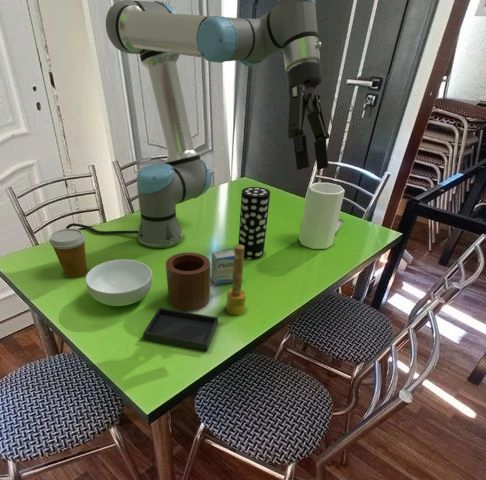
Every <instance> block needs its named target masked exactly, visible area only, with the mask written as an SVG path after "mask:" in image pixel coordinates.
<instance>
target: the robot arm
mask: <svg viewBox="0 0 486 480" xmlns="http://www.w3.org/2000/svg"><path fill="white" fill-rule="evenodd" d="M276 4H277V5H276V6H275V7H273V8H272V9H271V10H270V11H268V12H267V13H265V14H263V15H262V16H261V17H259V18H247V17H246V18H245V17H228V16H227V17H226V16H219V15H212V16H210V15H201V14H200V15H198V14H187V13H178V11H177V10H176V9H175V8H174V7H172V5H170V4H169V3H167V2H166V3H165V2H162V1H158V0H153V1H150V0H149V1H148V0H119V1H116V2H115V3H113V4H112V5H111V6H110V8H109V9H108V11H107V14H106V16H105V30H106V35H107V37H108V39H109V41H110V43H111V44H112V45H113V47H114V48H116V49H117V50H118V51H120V52H122V53H124V54H128V55H129V54H131V55H139V59H140V62H141V65H142V66H143V67H144V68H146V70H148V74H149V78H150V83H151V87H152V91H153V95H154V99H155V104H156V108H157V113H158V116H159V121H160V125H161V130H162V133H163V138H164V142H165V146H166V150H167V151H166V152H167V154H168V155H167V157H166V159H165V161H164V162H165V163H156V164H155V163H153V164H149V165H146V166H144V167H142V168H141V169H140V170H139V171H138V173H137V175H136V189H137V194H138V203H139V211H140V222H139V226H138V230H98V229H95V228H93V227H91V226H90V225H87V224H86V225H85V224H81V223H76V222H74V223H73V222H71V223H69V224H68V225H66V227H65V229H69V228H72V227H79V228H83V229H88V230H89V231H91V232H92V233H95V234H100V235H115V234H116V235H117V234H120V235H121V234H122V235H123V234H127V235H128V234H135V235H137V240H138V243H139V244H140V245H142V246H143V247H146V248H149V249H167V248H171V247H174V246H177V245H179V244H180V243H181V242H182V240H183V235H184V230H182V228H181V226H180V223H179V220H178V218H177V209H176V206H177V205H179V204H182V203H185V202H188V201H190V200H192V199H197V198H200V196H203V195H205V193H206V192H207V191H208V189H209V188H210V186H211V182H212V174H211V170H210V166H209V165H208V164H207V162H206V161H205V160H204V159H201V155H200V152H198V151H197V150H195V148H194V143H193V139H192V134H191V128H190V124H189V118H188V113H187V110H186V105H185V100H184V94H183V90H182V84H181V80H180V76H179V71H178V66H177V62H178V60H179V58H180V55H182V56H187V57H195V58H201V59H204V60H205V61H207V62H212V63H221V64H223V63H226V62H237V61H239V62H240V63H241V64H243V65H244V66H245V67H252V66H254V65H257V64H260V63H262V62H263V61H264V60H265V59H268V58H269V57H271V56H272V55H274V54H276V53H277V52H279V51H281V50H283V51H282V52H283V61H284V70H285V71H286V74H285V77H286V85H287V90H288V93H289V107H288V124H287V133H288V134H287V135H288V140H291V139H293V147H294V155H295V163H296V171H299V170H303V169H307V168H310V167H311V164H310V155H309V146H308V138H307V137H308V136H307V134H305V132H306V127H307V122H309V125H310V128H311V132H312V134H313V137H314V140H315V141H314V142H313V145H314V154H315V164H316V170H317V171H318V170H323V169H328V168H329V167H330V165H329V155H328V146H327V145H328V144H327V140H328V139H330V137H331V135H330V134H329V130H328V126H327V121H326V117H325V112H324V108H323V104H322V103H323V102H322V94H321V93H318V94H316V87H318V86H319V85H320V84H322V82H323V71H322V70H323V69H322V64H321V62H320V60H321V53H320V48H321V47H322V42H321V41H319V34H318V22H317V8H316V5H317V1H316V0H276Z"/></svg>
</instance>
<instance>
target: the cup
mask: <svg viewBox="0 0 486 480" xmlns="http://www.w3.org/2000/svg"><path fill="white" fill-rule="evenodd" d="M345 191H346V190H345V189H344V188H343V187H342V186H341V185H339V184H335V183H332V182H313V183H312V184H310V185H308V186H307V192H306V196H305V202H304V208H303V209H304V210H303V214H302V219H301V226H300V231H299V237H298V240H299V242H300V244H301V246H304V247H307V248H309V249H311V250H326V249H328V248H329V247H331V246H332V245H333V242H334V238H335V235H336V233H335V230H336V226H337V222H338V219H340V218H339V217H340V212H341V210H342V209H341V208H342V205H343V200H344V197H345Z"/></svg>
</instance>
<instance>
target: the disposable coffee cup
mask: <svg viewBox="0 0 486 480" xmlns="http://www.w3.org/2000/svg"><path fill="white" fill-rule="evenodd" d="M49 238H50V239H49V244H50V245H51V246H52V248H53V250H54V252H55V255H56V257H57V259H58V261H59V264H60V266H61V269H62V271H63V273H64V276H66V277H67V278H71V279H76V278H81V277H82V276H83V277H84V276H85V275H87V273H88V269H87V268H88V267H87V257H86V256H87V255H86V245H85V244H86V243H85V241H86V235H85V234H84V232H83V231H82V230H80V229H77V228H72V227H70V228H69V229H66V228H62V229H58V230H56V231H54V232H53V233H51V234H50V237H49Z"/></svg>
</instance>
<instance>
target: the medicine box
mask: <svg viewBox="0 0 486 480" xmlns="http://www.w3.org/2000/svg"><path fill="white" fill-rule="evenodd" d="M234 251H235V248H234V249H232V248H231V249H225V250H218V251H212V252H211V273H210V279H211V280H212V281H213V283H214V285H215V286H221V285H228V284H233V269H234Z"/></svg>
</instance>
